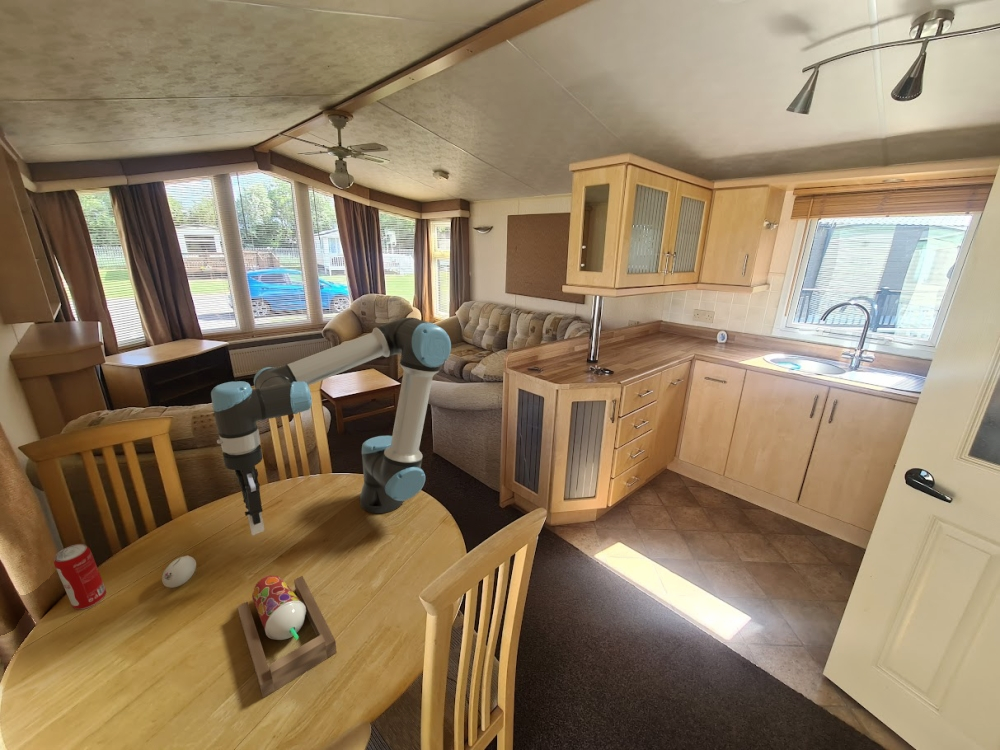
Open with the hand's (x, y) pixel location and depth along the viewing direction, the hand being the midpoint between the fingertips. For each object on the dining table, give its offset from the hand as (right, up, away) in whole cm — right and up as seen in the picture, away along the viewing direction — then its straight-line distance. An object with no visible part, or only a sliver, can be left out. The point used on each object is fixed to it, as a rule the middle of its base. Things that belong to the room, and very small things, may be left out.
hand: (257, 531), depth 98 cm
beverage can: (-37, -15, -5) cm, 41 cm away
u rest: (+13, -19, -10) cm, 25 cm away
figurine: (-20, -14, +1) cm, 25 cm away
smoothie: (+3, -12, -2) cm, 13 cm away
